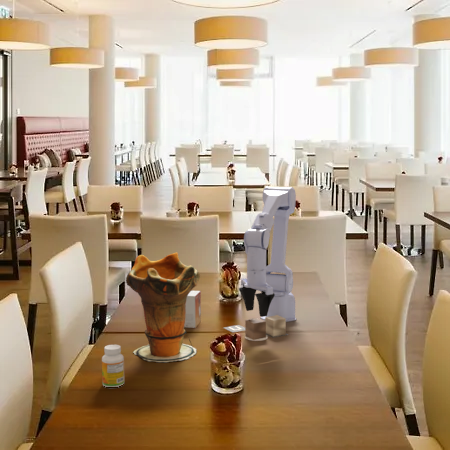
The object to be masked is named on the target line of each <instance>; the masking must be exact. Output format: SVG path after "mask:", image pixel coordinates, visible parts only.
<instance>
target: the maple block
mask: <svg viewBox="0 0 450 450" xmlns="http://www.w3.org/2000/svg"><path fill="white" fill-rule="evenodd" d="M264 321H266V333H267V334H269V335H271V336H273V337H274V336H279V335H285V334H287V332H286V331H287V330H286V327H287V326H286V324H287V322H286V318H283V317H281V316H278V315H275V316H269V317H265V320H264ZM285 336H286V335H285ZM274 338H275V337H274Z"/></svg>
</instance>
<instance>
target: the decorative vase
mask: <svg viewBox="0 0 450 450" xmlns="http://www.w3.org/2000/svg"><path fill="white" fill-rule="evenodd" d="M200 274H201V273H200V272H199V271H198V270H197V269H196V268H194V266H193V265H192V264H190V265H186V264H184V263H182V261H181V260H180V258H179V253H178V252H177V251H176V252H174V253H170V254H168V255H166V256H165V257H163V258H161V259H158V260H150V259H149V258H148V257H147V256H145V255H144V254H139V255H138V256H136V257H135V260H134V264H133V266H132V268H131V270H130V271H129V272H128V273H127V274H126V277H125V283H126V285H127V286H129V288H131V290H133V291H134V292H136V294H138V295H139V297H140V299H141V305H142V307H143V315H144V316H143V317H144V323H145V326H146V329H145V331H144V334H145V337H146V339H147V341H148V344H147V345H143V346H141V347H138V348H137V349H135V350H134V351H133V352H132V354H133V353H134V355H136V356H138V357H139V358H141V359H142V360H144V361H147V362H156V363H169V362H177V361H184V360H188V359H190V358H191V357H194V355H196V354H197V348H196V347H194V346H193V345H192V341H191V340H190V337H188V340H189V343H190V345H189V344H186V343H183V342H184V336H185V335H186V334H188V333H187V331H186V329H185V327H184V324H185V318H186V300H187V296H188V294H189V293H190V292H191V291H193V289H194V288H195V287H197V286H198V283H199V281H200V278H201V275H200Z"/></svg>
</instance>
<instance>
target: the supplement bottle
mask: <svg viewBox="0 0 450 450" xmlns="http://www.w3.org/2000/svg"><path fill="white" fill-rule="evenodd" d="M121 347H122V346H121V345H119V344H108V345H105V346H104V348H103V349H104V351H103V352H104V355H103V356H101V373H102V374H101V378H102V379H101V381H102V382H101V383H102V386H103V387H104V386H105V387H104V388H106V387H118V388H120V387H119V386H121V385H123V384H124V385H125V356H124V355H123V354H122V352H121V351H122V348H121ZM124 385H123V386H124ZM121 387H122V386H121Z"/></svg>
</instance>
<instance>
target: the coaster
mask: <svg viewBox="0 0 450 450" xmlns="http://www.w3.org/2000/svg"><path fill="white" fill-rule="evenodd" d="M244 338H245V339H246V340H249V341H253V342H258V341H259V342H260V341H265V340H268V338H269V336H268V335H266V338H261V339H255V340H253V339H251V338H248V337H246V336H245V335H244Z"/></svg>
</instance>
